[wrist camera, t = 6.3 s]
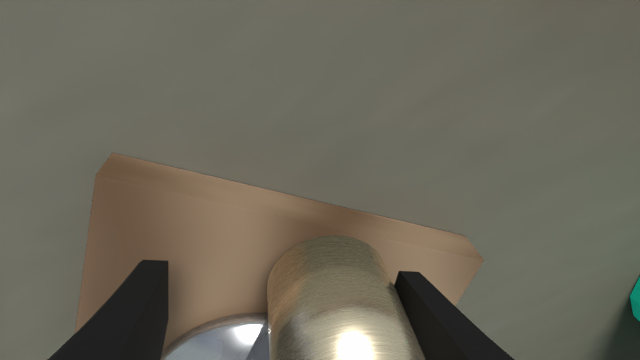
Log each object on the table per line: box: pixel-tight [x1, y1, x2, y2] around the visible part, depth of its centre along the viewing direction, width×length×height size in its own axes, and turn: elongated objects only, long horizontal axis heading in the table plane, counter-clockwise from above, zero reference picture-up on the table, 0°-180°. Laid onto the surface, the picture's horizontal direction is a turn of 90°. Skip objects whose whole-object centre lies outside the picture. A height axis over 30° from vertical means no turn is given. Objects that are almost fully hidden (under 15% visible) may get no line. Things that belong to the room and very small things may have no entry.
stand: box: [75, 153, 484, 352], centre depth 16 cm, size 13×13×2 cm
